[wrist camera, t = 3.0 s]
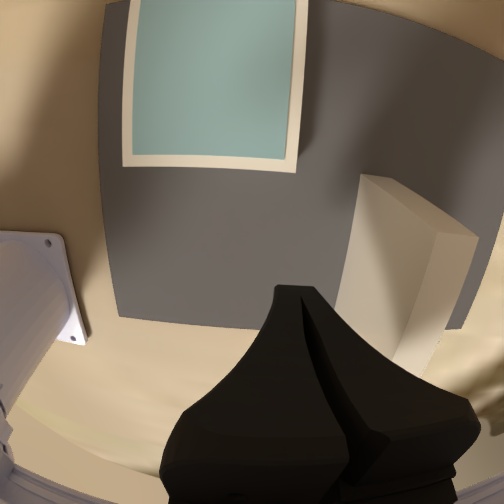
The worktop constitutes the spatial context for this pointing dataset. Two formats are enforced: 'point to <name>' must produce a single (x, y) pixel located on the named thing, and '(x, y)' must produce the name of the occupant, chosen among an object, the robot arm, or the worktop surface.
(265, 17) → the tile
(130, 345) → the worktop surface
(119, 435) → the worktop surface
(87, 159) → the worktop surface
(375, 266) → the tile
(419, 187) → the mat
